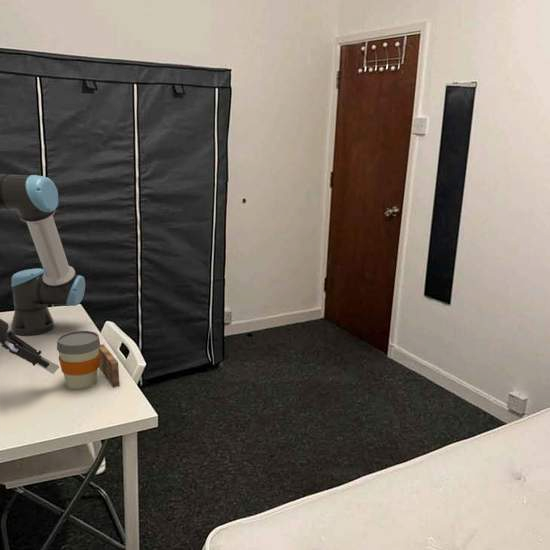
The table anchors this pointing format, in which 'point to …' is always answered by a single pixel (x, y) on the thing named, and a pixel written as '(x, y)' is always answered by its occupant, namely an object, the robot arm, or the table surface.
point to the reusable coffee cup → (79, 358)
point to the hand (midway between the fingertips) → (55, 369)
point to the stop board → (109, 366)
